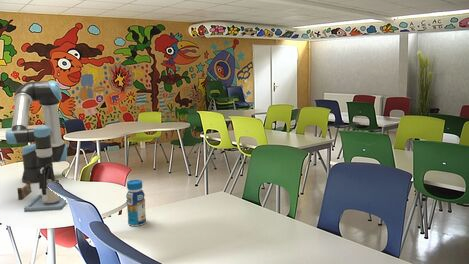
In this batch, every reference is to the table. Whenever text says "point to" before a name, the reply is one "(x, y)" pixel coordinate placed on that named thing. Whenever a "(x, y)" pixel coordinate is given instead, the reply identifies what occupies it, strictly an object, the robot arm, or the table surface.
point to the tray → (44, 205)
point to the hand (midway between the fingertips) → (49, 197)
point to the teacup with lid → (51, 195)
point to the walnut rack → (26, 190)
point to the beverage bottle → (135, 203)
